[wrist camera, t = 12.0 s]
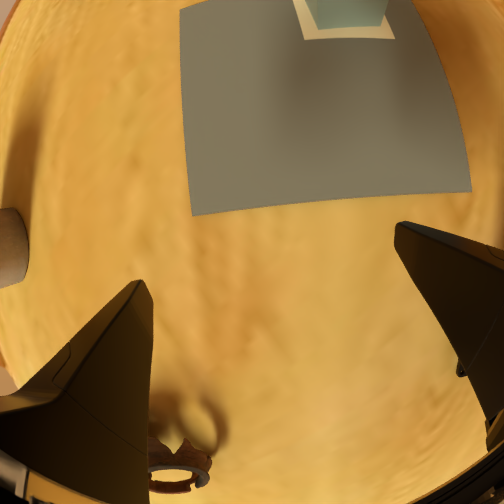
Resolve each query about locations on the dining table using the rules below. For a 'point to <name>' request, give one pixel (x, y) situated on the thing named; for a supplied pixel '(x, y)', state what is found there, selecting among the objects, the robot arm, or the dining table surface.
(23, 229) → the pillar candle
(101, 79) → the dining table surface
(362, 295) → the dining table surface
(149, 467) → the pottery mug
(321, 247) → the dining table surface
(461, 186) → the mat
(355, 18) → the block
